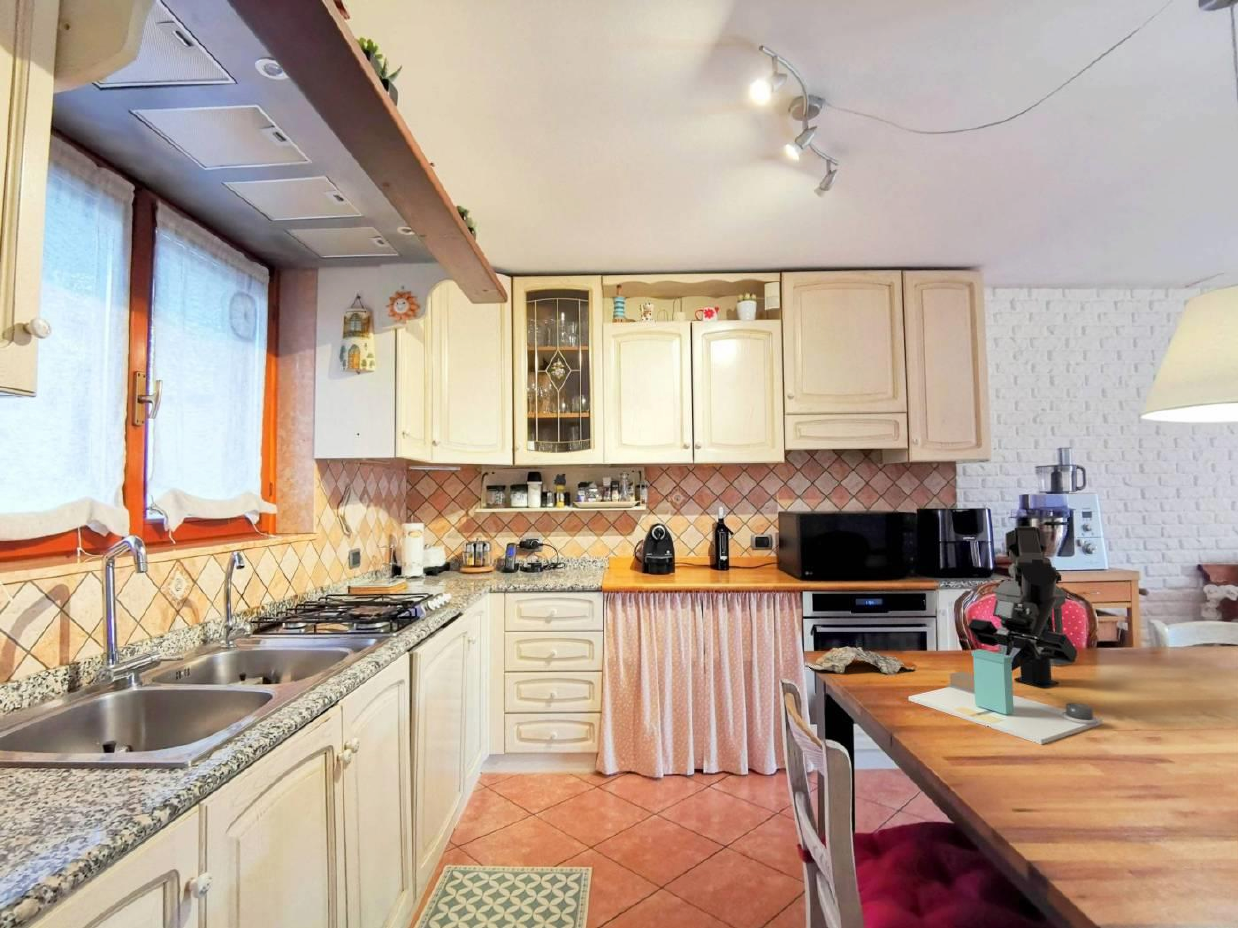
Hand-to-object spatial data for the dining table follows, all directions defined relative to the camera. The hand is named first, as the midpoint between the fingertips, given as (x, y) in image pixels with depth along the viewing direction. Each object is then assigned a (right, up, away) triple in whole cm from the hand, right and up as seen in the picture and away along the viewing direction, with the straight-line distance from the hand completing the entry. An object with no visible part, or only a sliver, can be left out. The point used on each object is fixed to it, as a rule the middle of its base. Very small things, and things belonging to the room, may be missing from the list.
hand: (1003, 672), depth 120 cm
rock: (-16, -11, +32) cm, 37 cm away
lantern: (+33, -10, +39) cm, 52 cm away
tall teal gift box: (-3, -7, -2) cm, 7 cm away
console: (-1, -8, 0) cm, 8 cm away
